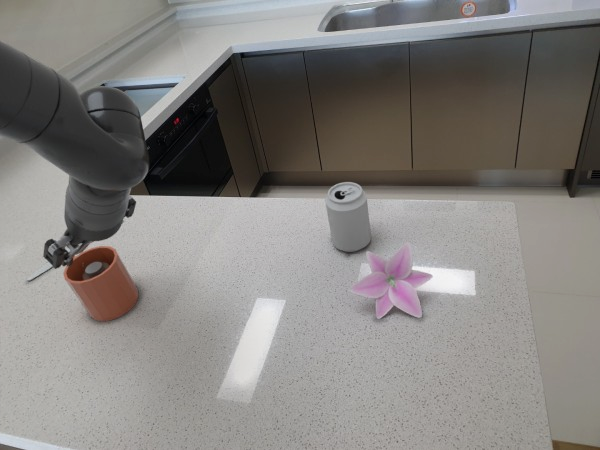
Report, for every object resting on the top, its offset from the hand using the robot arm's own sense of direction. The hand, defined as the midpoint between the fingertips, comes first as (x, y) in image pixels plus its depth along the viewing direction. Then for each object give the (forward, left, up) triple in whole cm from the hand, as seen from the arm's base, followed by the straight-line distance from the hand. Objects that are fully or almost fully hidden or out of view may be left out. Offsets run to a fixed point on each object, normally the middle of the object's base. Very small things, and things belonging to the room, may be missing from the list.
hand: (88, 244), depth 74 cm
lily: (+24, -41, -17) cm, 50 cm away
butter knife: (+8, +30, -17) cm, 35 cm away
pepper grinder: (0, +5, -16) cm, 17 cm away
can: (+34, -27, -17) cm, 47 cm away
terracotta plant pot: (0, +7, -16) cm, 18 cm away
